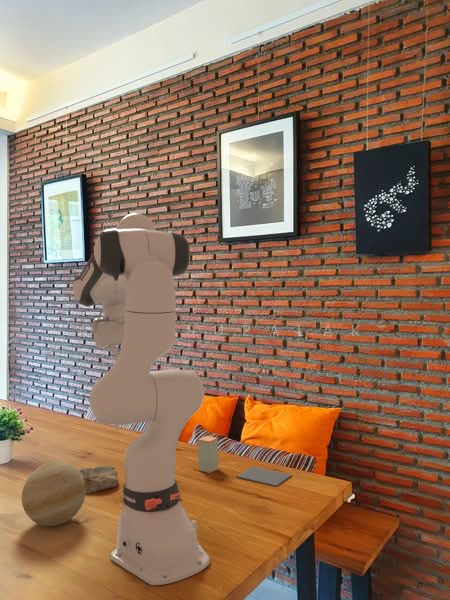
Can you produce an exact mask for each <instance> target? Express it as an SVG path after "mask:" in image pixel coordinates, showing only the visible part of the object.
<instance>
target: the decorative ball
mask: <svg viewBox="0 0 450 600" xmlns="http://www.w3.org/2000/svg"><path fill="white" fill-rule="evenodd" d="M79 470H80V469H78V468H77V467H76V466H75V465H73V464H71V463H69V462H66V461H59V460H54V461H49V462H46V463H43V464H42V465H40V466H38V467H36V468H35V470H33V471H32V472H31V473H30V475H29V476H28V477H27V478H26V480H25V482H24V485H23V488H22V490H21V491H22V492H21V505H22V508H23V510H24V512H25V514H26V516H27V517H28V518H29V519H30V520H32V522H34V523H36V524H37V525H40V526H44V527H56V526H60V525H63V524H65V523H67V522H68V521H70V520H71V519H73V518H74V517H75V516H76V515H77V513H78V512H79V511H80V509H81V508H82V506H83V505H84V504H83V503H84V501H85V498H86V495H87V494H86V486H85V481H84V478H83V476H82V474H81V473H80V471H79Z"/></svg>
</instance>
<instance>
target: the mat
mask: <svg viewBox="0 0 450 600" xmlns="http://www.w3.org/2000/svg"><path fill="white" fill-rule="evenodd" d="M291 477H293V474H290V473H286V472H285V473H284V472H281V471H275V470H271V469H267V468H262V467H257V466H252V467H250V468H248V469H245V470H244V471H243V472H241V473H238V475H236V478H238V479H242V480H246V481H250V482H255V483H258V484H263V485H267V486H272V487H278V486H280V485H281V484H282V483H284V482H285V481H287V480H288V479H290V478H291Z"/></svg>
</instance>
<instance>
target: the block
mask: <svg viewBox="0 0 450 600" xmlns="http://www.w3.org/2000/svg"><path fill="white" fill-rule="evenodd" d="M218 438H219V437H214V436H210V435H209V436H208V435H205V436H203V437H200V438H199V439H198V440H197V443H198V444H197V445H198V448H197V449H198V452H197V453H198V454H197V455H198V457H197V458H198V471H199V472H205V473H209V474H211V473H212V472H215V471H217V470H219V448H218V447H219V443H218V442H219V441H218V440H219V439H218Z"/></svg>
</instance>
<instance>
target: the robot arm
mask: <svg viewBox="0 0 450 600" xmlns="http://www.w3.org/2000/svg"><path fill="white" fill-rule="evenodd" d="M190 250H191V249H190V244H189V241H188V240H187V238H186V237H185V236H184V235H182V234H180V233H177V232H174V231H161V230H156V227H155V224H154V223H153V221H152V219H150V218H149V217H148V216H146V215H144V214H143V213H130V214H127V215H126V216H124V217H123V218H122V219H121V220H120V221H119V222H118V224H117V225H116V226H115V227H114V228H107V229H105V230H102V231H101V232H99V234H98V236H97V239H96V240H95V244H94V249H93V255H92V256H91V257H90V258H89V260H88V261H87V263H86V264H85V266H84V267H83V268H82V270H81V272H80V273H78V274H77V275H76V276H75V278H74V280H73V282H72V292H73V293H72V294H73V297H74V298H75V301H76V302H77V303H79V304H81V305H82V306H84V307H87V308H89V307H91V306H95V305H97V304H101V306H102V312H103V315H104V317H101V318H95V319H94V320H93V321H91V325H90V326H91V329H92V332H93V336H94V338H93V339H94V343H95V346H96V347H97V348H98V349H105V348H106V349H107V348H108V351H109V352H110V353H111V354H112V355H113V356H114V360H115V362H114V364H113V365H112V366H111V368H109V370H108V371H107V372H106V373H105V374H104V375H102V376H101V377H100V378H98V379H97V380H96V381H95V383H94V384H93V386H92V388H91V391H90V394H89V398H88V399H89V400H88V401H89V408H90V411H91V414H92V415H93V417H94V418H95V420H97V421H98V422H99V423H100V424H102V425H113V426H114V425H117V426H124V425H132V424H139V423H145V422H148V425H147V427H146V429H145V430H144V432H142V434H140V435H139V436H137V437H136V438H134V439H133V440H132V441H131V442H130V443H129V444H128V446H127V448H126V450H125V451H124V483H123V487H122V488H123V490H122V498H123V500H122V502H123V503H124V505H123V508H122V510H121V512H120V514H119V515H118V518H117V527H116V529H117V530H116V544H115V545H116V547H115V549H114V550H112V552H111V553H110V560H111V561H113V562H114V563H116V564H117V565H119V566H120V567H122V568H123V569H125V570H126V571H128V572H130V573H131V574H133V575H134V576H136V577H138V578H139V579H141V580H142V581H144V582H145V583H146V584H148V585H150V586H162V585H167V584H168V585H169V584H173V583H175V582H179V581H181V580H184V579H186V578H189V577H192V576H194V575H196V574H197V573H200V572H201V571H203V570H205V568H207V567H208V566H209V565H210V564H211V559H210V557H209V554H207V552H206V551H205V550H204V548H203V547H202V546H201V545H200V543H199V542H198V535H197V531H198V528H199V527H198V524H197V520H195V519H194V520H193V519H192V520H190V519H191V518H190V517H189V516H188V510H187V509H186V508H184V507H183V505H182V503H181V492H180V490H179V489H180V487H179V485H178V481H177V479H176V453H177V448H178V441H179V439H180V437H181V434H182V431H183V429H185V428H184V427H185V426H186V425H187V422H188V421H189V420H190V419H191V418H192V417H193V416H194V414H195V413H197V412H198V411H199V409H200V408H201V406H202V405H203V401H204V397H205V388H204V384H203V381H202V379H201V378H200V376H199V375H198V374H197V373H196V372H195V371H191V370H186V369H184V370H183V369H177V368H176V369H175V368H173V369H172V368H171V369H160V370H151V368H152V366H153V365H154V364H155V363H156V362H157V360H158V359H159V358H161V357H163V356H165V355H166V354H167V353H168V352H170V351H171V350H172V348H173V346H174V345H175V342H176V316H177V315H176V313H177V307H176V306H177V301H176V288H175V279H174V277H176V276H178V277H179V276H180V275H183V274H185V272H186V270H188V268H189V263H190V260H191V259H190V258H191V251H190ZM118 345H119V346H120V345H121V350H120V352H119V351H118V350H116V346H118Z"/></svg>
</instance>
